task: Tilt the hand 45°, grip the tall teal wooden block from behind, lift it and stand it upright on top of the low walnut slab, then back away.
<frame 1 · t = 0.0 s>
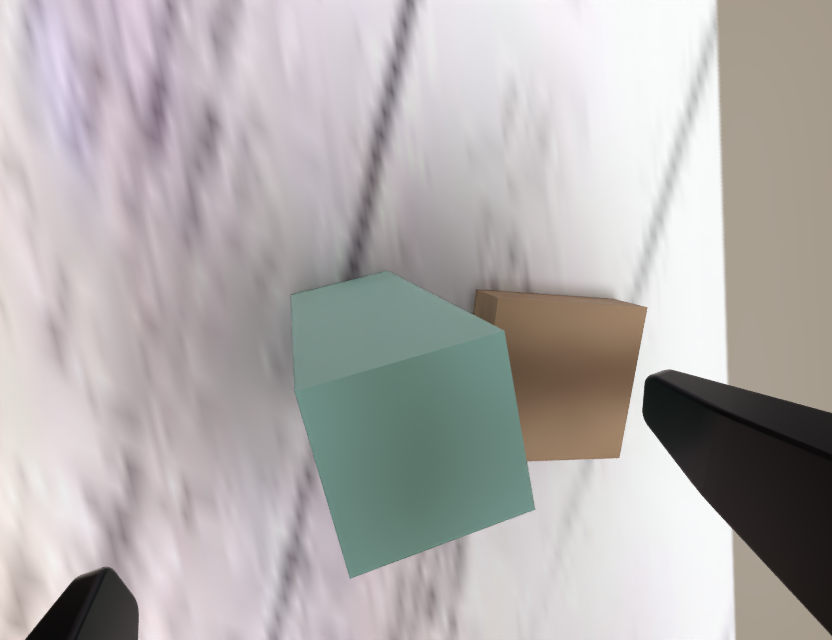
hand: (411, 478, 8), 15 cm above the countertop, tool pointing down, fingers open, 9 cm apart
teal block: (352, 329, 23), on the countertop
walnut slab: (533, 366, 26), on the countertop
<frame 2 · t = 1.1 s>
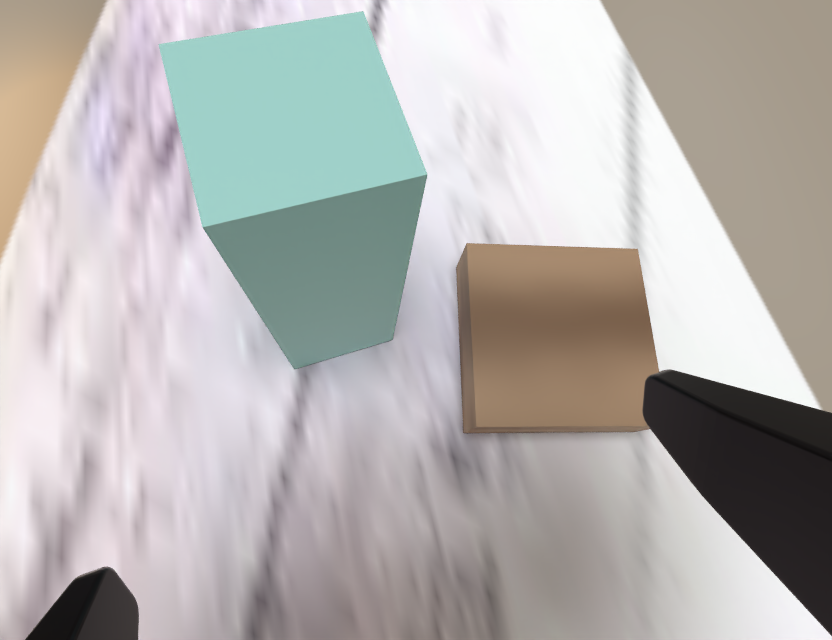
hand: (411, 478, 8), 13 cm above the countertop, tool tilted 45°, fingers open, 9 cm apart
teal block: (330, 308, 23), on the countertop
walnut slab: (539, 348, 23), on the countertop
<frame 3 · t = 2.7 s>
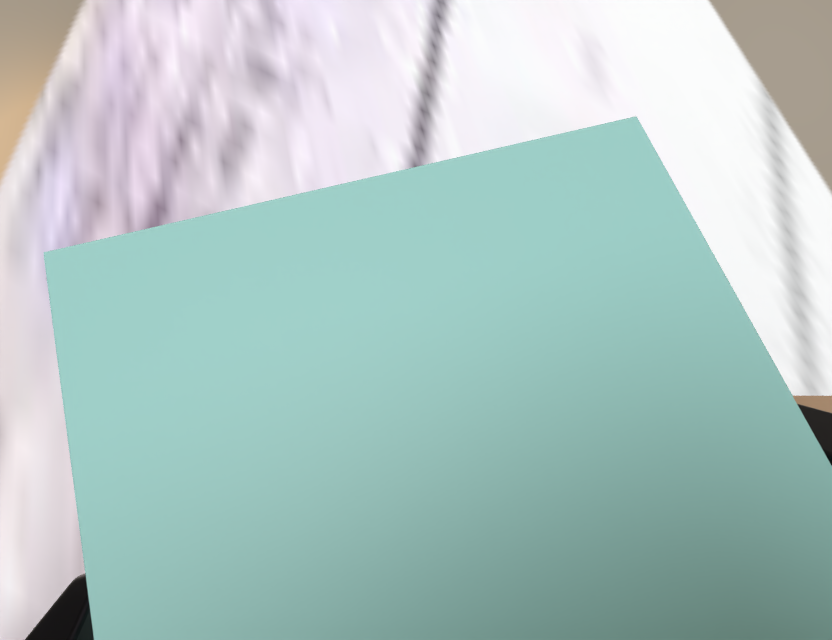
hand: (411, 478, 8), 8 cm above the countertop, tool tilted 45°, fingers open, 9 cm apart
teal block: (389, 481, 15), on the countertop
walnut slab: (690, 531, 16), on the countertop
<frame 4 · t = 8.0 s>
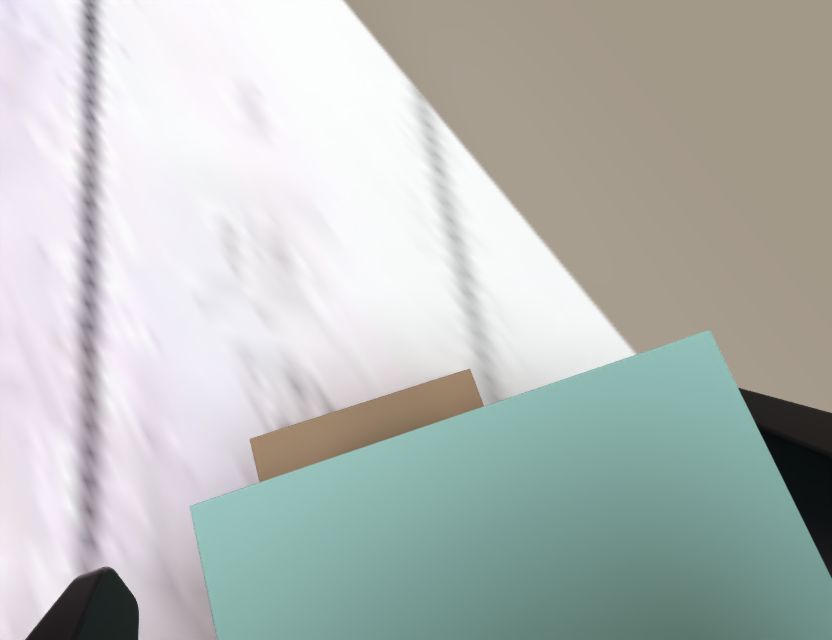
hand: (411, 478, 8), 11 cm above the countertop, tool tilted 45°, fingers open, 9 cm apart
teal block: (409, 516, 16), point 3 cm above the countertop, touching walnut slab
walnut slab: (394, 512, 19), on the countertop, touching teal block
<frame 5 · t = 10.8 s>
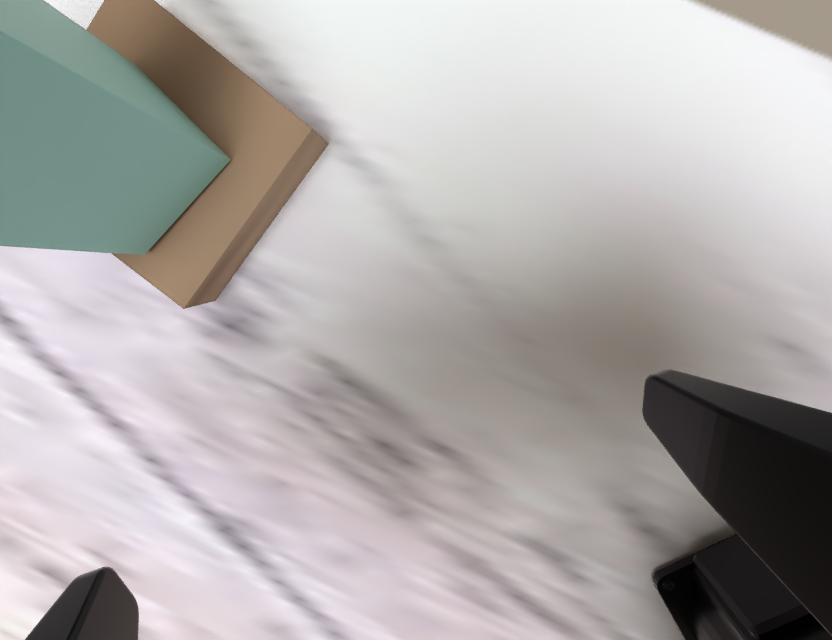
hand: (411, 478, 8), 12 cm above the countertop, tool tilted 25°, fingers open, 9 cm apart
teal block: (138, 160, 17), point 3 cm above the countertop, touching walnut slab
walnut slab: (196, 163, 20), on the countertop, touching teal block
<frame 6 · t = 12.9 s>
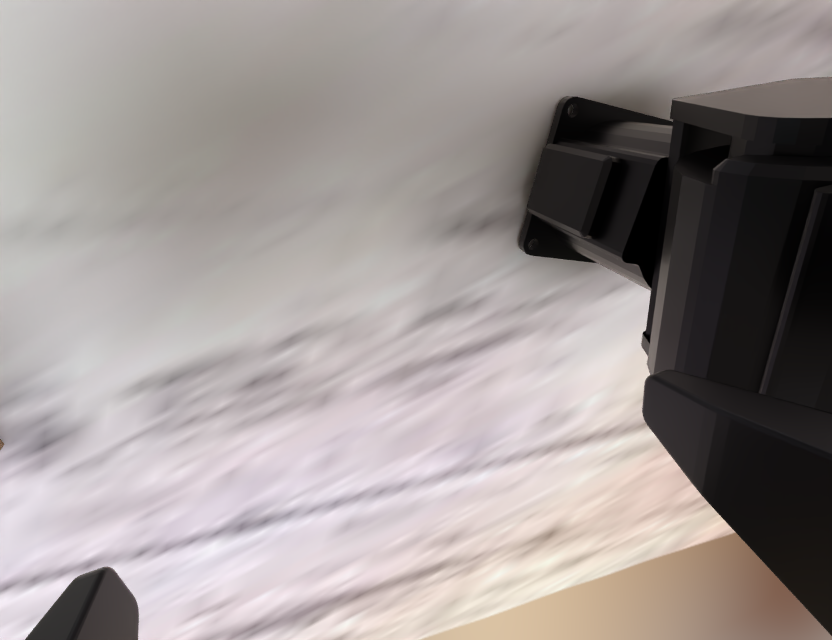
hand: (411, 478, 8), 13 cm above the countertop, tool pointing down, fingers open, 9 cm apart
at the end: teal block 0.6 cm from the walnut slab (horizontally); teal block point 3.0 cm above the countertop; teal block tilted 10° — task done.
